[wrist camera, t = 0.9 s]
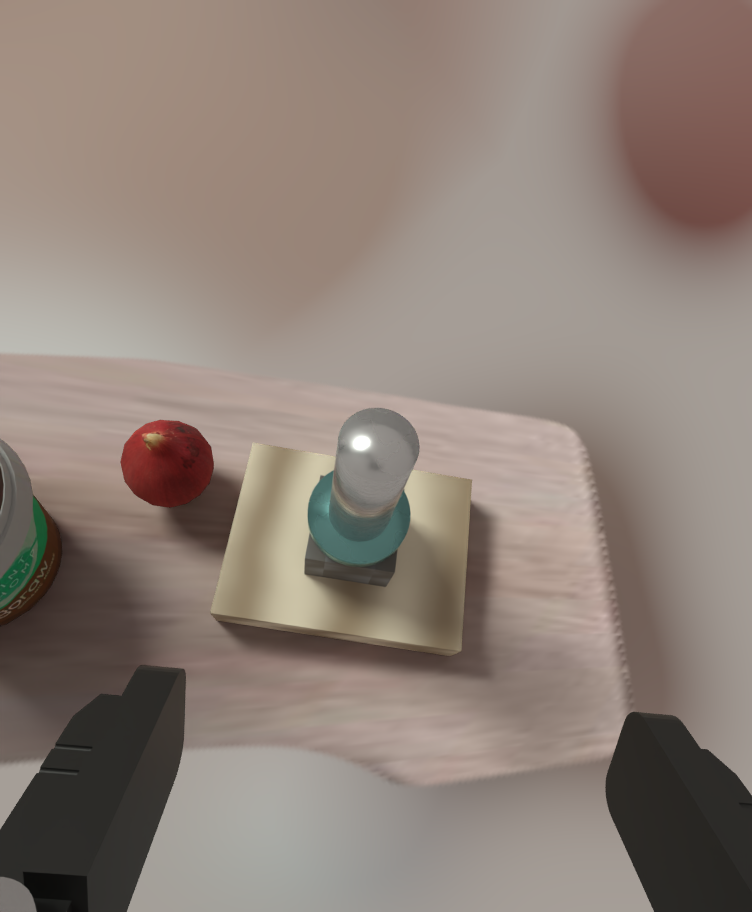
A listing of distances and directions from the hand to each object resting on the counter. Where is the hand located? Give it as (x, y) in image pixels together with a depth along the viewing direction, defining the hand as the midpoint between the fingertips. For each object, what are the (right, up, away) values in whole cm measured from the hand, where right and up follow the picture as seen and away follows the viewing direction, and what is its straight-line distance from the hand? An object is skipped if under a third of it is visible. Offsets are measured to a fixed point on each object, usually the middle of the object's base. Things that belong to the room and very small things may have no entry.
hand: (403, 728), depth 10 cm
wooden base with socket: (-3, -2, +31) cm, 31 cm away
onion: (-15, +3, +32) cm, 35 cm away
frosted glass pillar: (-2, -1, +28) cm, 28 cm away
